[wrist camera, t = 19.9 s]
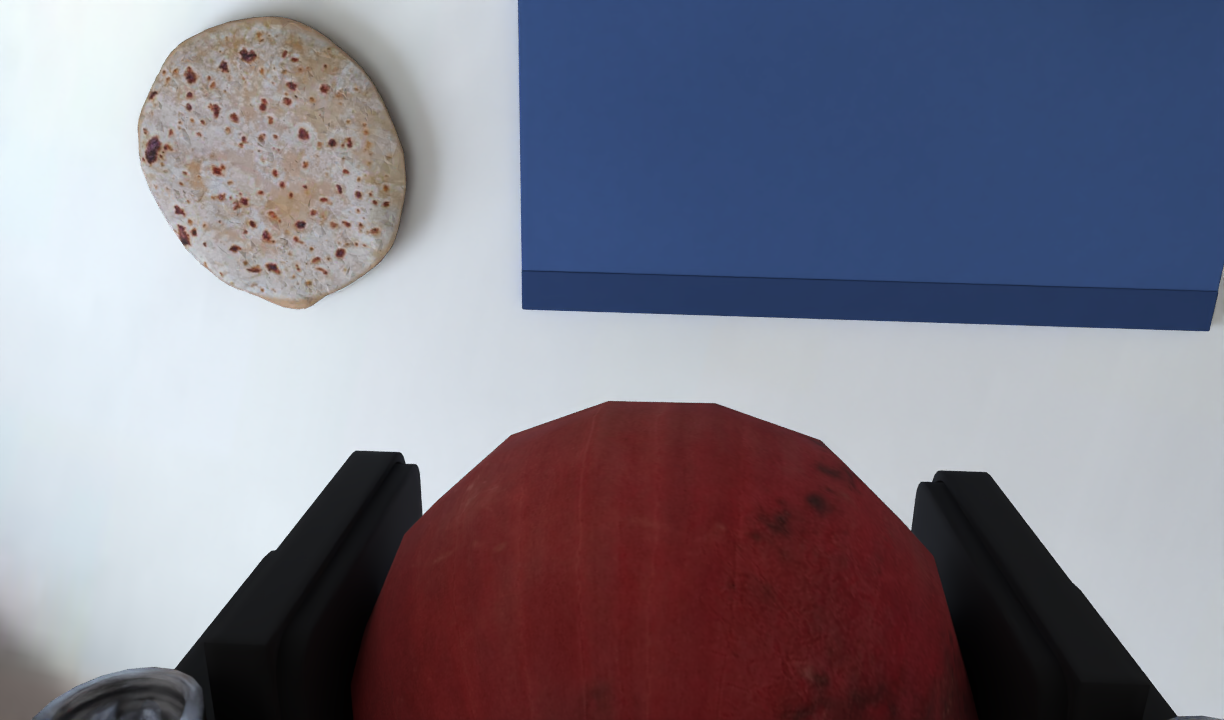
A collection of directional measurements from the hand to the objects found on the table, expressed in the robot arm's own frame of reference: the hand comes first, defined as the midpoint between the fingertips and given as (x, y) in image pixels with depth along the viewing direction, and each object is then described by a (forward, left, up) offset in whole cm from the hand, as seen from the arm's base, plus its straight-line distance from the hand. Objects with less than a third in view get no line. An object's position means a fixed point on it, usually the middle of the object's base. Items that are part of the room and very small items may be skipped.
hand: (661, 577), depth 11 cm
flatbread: (+11, -3, -17) cm, 21 cm away
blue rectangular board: (-6, -7, -17) cm, 19 cm away
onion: (0, 0, -2) cm, 2 cm away
